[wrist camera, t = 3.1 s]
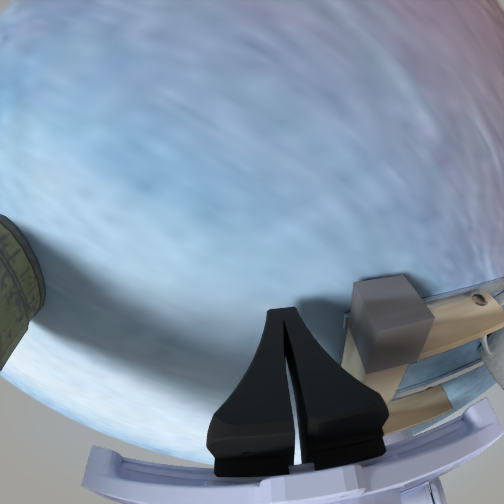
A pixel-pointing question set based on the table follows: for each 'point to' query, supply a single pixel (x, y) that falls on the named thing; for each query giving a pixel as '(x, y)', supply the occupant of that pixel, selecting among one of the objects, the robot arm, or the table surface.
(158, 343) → the table surface
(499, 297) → the ceramic mug
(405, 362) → the tan wooden bracket
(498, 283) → the track
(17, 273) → the thermos
